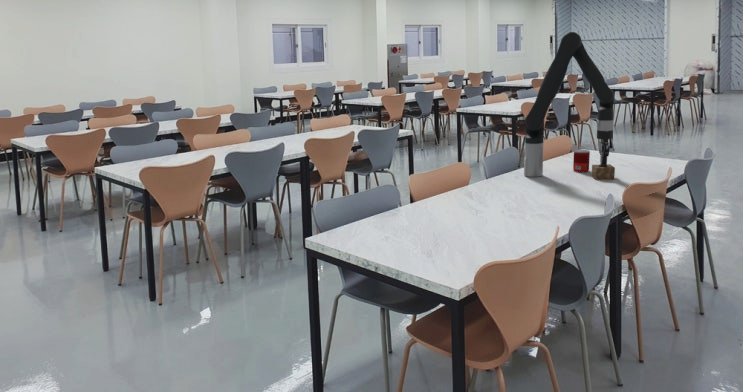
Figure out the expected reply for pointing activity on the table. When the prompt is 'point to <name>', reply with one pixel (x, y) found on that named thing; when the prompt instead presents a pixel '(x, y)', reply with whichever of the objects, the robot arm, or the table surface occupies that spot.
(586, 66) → the robot arm
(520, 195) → the table surface
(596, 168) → the socket block
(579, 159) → the canned food
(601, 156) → the pin
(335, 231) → the table surface
